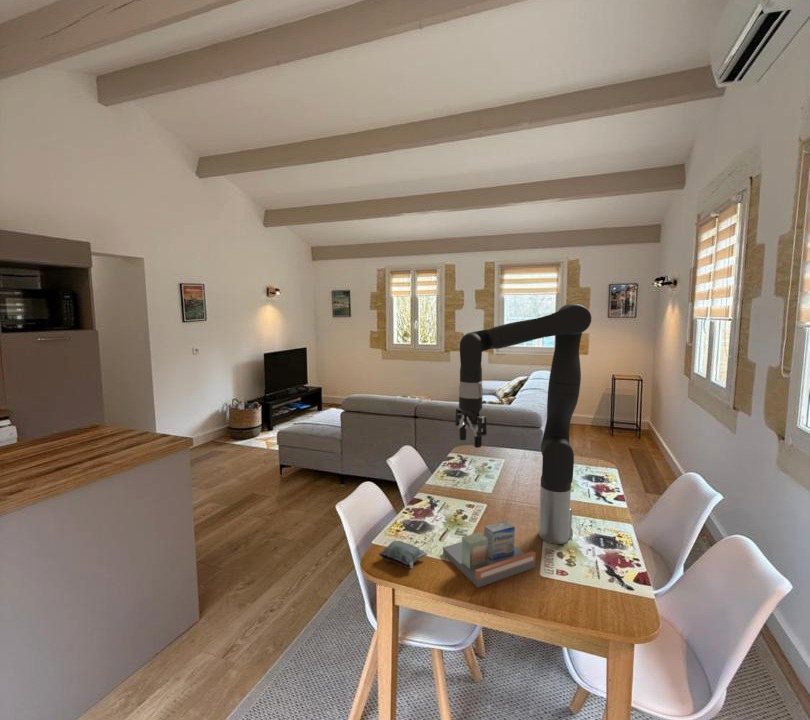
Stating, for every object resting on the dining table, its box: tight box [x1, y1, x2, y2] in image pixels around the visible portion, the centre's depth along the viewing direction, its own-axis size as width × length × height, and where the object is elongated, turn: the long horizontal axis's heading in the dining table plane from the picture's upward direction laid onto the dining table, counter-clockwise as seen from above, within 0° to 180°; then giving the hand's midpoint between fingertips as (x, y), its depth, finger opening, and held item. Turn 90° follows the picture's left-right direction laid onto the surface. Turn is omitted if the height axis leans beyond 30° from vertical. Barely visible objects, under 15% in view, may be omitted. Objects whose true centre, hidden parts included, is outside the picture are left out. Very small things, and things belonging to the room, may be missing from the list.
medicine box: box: [483, 520, 516, 560], centre depth 129 cm, size 8×4×9 cm, turn 113°
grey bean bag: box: [378, 539, 428, 569], centre depth 130 cm, size 9×12×5 cm
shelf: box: [442, 541, 536, 588], centre depth 129 cm, size 20×18×4 cm
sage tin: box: [461, 531, 488, 571], centre depth 124 cm, size 6×4×8 cm
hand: (470, 443), depth 143 cm, fingers open, 8 cm apart
